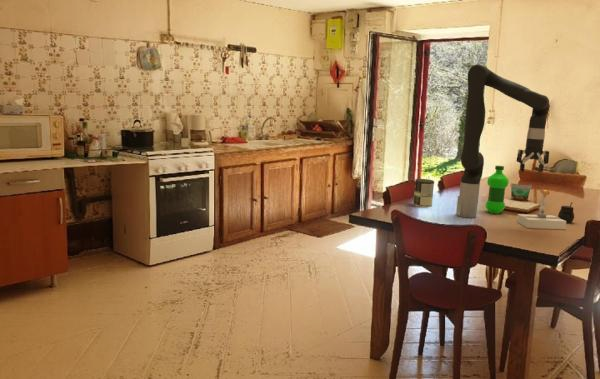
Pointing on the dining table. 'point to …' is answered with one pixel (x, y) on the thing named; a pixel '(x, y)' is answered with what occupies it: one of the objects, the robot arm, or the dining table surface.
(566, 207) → the mate gourd
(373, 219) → the dining table surface
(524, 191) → the food container
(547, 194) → the breaker handle
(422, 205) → the coffee can
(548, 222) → the block
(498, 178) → the plastic bottle
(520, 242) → the dining table surface
